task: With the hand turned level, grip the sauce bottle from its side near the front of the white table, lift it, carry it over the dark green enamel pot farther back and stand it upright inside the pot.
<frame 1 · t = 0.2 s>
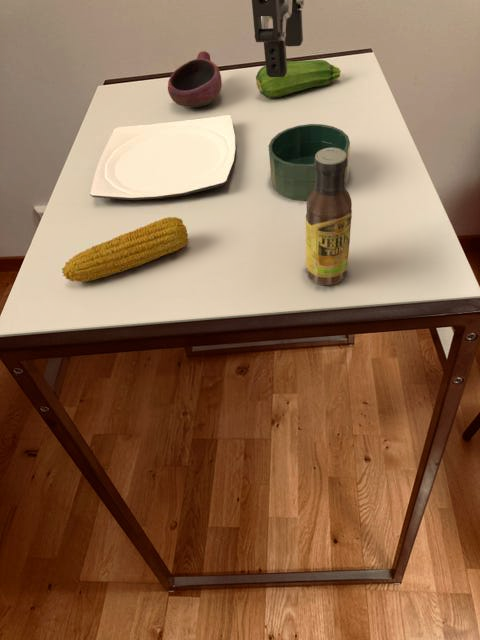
hand: (285, 59, 59), 30 cm above the table, tool pointing down, fingers open, 8 cm apart
food: (133, 265, 85), on the table
bowl: (197, 101, 123), on the table
vegetable: (299, 90, 120), on the table
plate: (168, 164, 105), on the table
sauce bottle: (327, 274, 78), on the table
pot: (309, 178, 95), on the table
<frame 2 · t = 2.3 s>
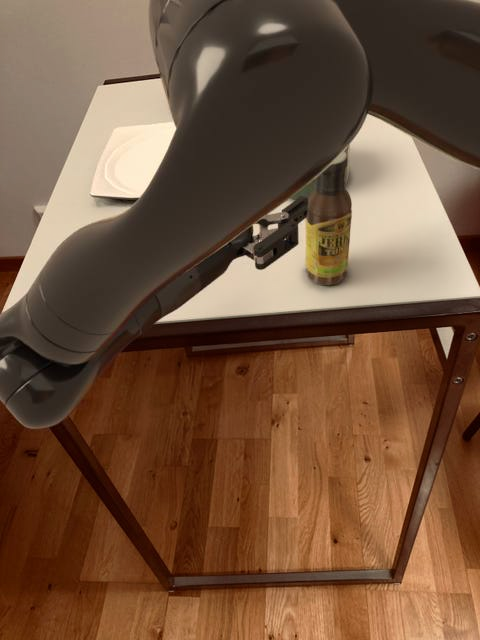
hand: (276, 191, 58), 20 cm above the table, tool horizontal, fingers open, 8 cm apart
nothing on the table moved.
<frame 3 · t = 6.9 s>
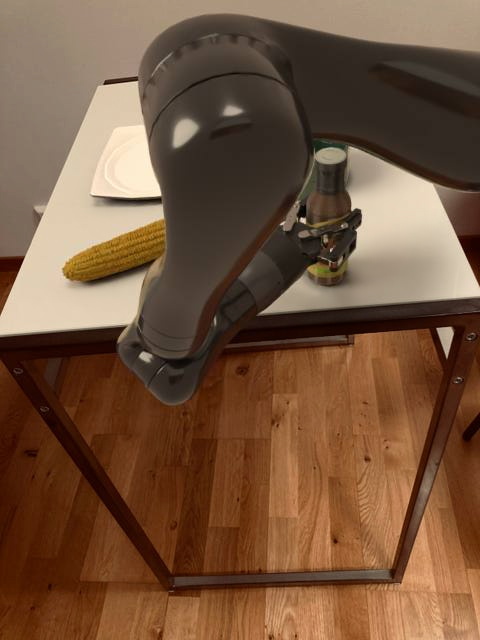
hand: (337, 206, 70), 11 cm above the table, tool horizontal, fingers closed on sauce bottle, 6 cm apart
sauce bottle: (327, 274, 78), on the table, touching gripper
everything else where it was.
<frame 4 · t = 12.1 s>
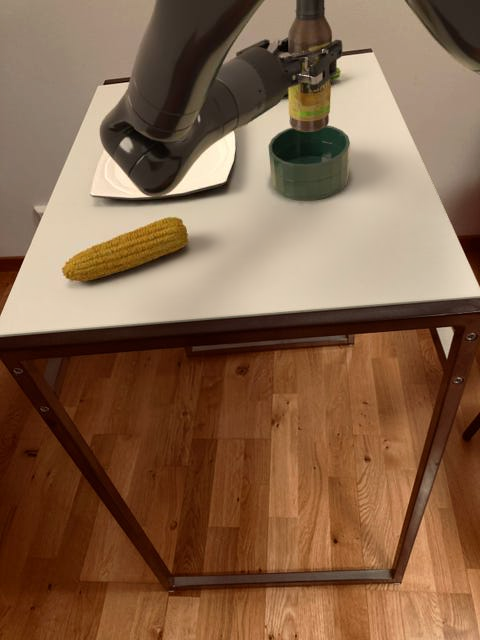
hand: (319, 43, 72), 26 cm above the table, tool horizontal, fingers closed on sauce bottle, 6 cm apart
sauce bottle: (310, 126, 79), point 15 cm above the table, touching gripper
everything else where it was.
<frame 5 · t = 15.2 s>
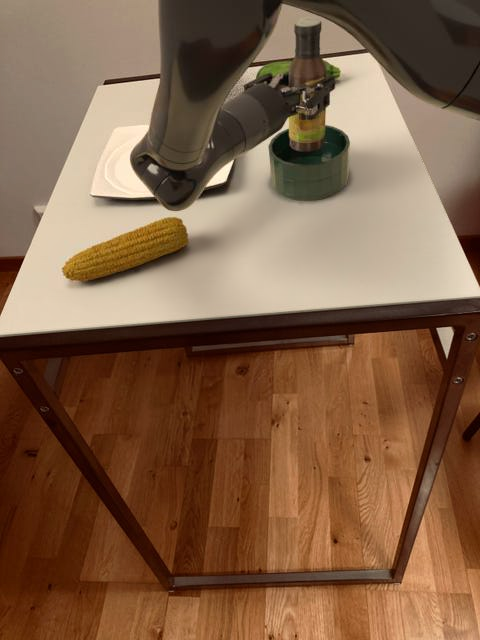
hand: (315, 76, 83), 18 cm above the table, tool horizontal, fingers closed on sauce bottle, 6 cm apart
sauce bottle: (307, 146, 90), point 7 cm above the table, touching gripper
everything else where it was.
when the fingers open (12 cm above the table, at t = 17.5 s): sauce bottle stays where it is, resting on pot.
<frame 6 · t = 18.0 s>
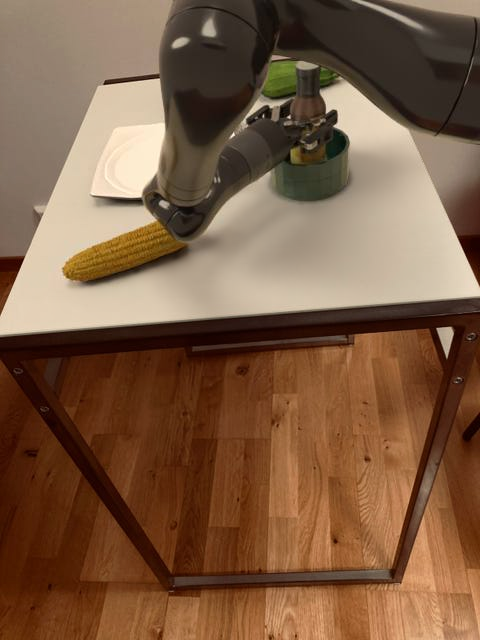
hand: (314, 109, 87), 12 cm above the table, tool horizontal, fingers open, 8 cm apart
sauce bottle: (308, 176, 95), point 1 cm above the table, touching pot
everything else where it was.
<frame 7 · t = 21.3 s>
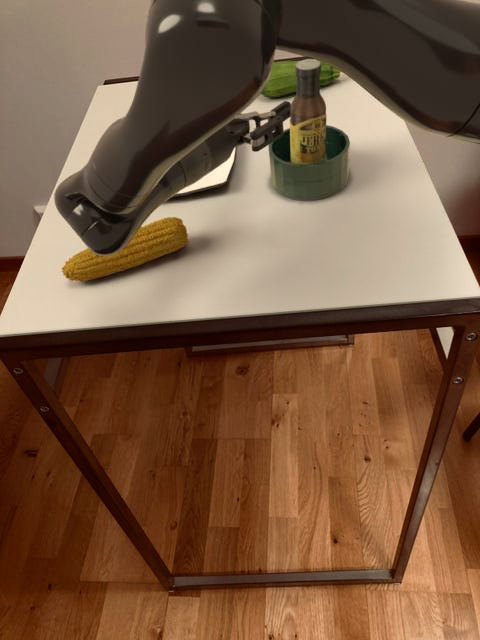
hand: (266, 101, 77), 19 cm above the table, tool horizontal, fingers open, 8 cm apart
nothing on the table moved.
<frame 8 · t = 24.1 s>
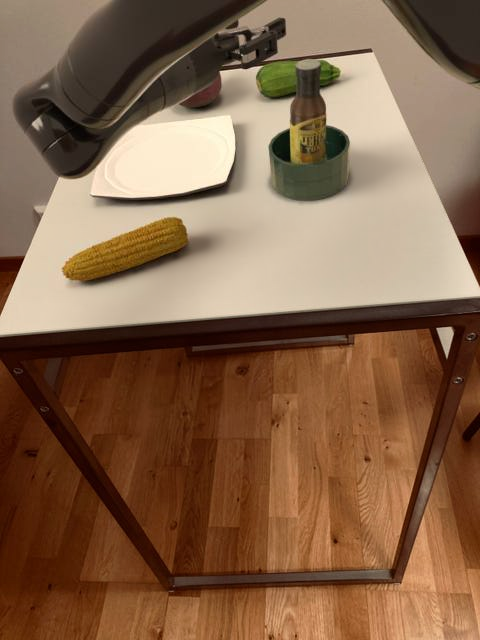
hand: (259, 21, 69), 30 cm above the table, tool horizontal, fingers open, 8 cm apart
nothing on the table moved.
at the end: sauce bottle inside the target area in the pot (0.2 cm from its centre), point 0.6 cm above the pot's base; sauce bottle tilted 0°; the gripper is holding nothing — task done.
